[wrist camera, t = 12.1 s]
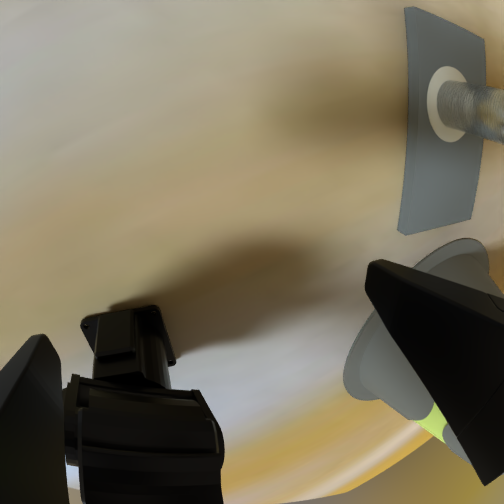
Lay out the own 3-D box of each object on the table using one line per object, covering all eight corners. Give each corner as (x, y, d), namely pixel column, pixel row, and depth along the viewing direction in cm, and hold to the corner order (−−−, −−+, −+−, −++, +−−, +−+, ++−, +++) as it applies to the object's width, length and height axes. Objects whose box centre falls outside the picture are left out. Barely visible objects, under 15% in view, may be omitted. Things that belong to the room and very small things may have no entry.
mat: (463, 214, 29) (471, 219, 28) (397, 230, 26) (406, 236, 25) (475, 38, 19) (485, 39, 18) (404, 8, 16) (415, 6, 15)
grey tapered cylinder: (365, 264, 27) (554, 463, 7) (504, 224, 34) (621, 310, 14) (328, 420, 41) (402, 545, 21) (452, 357, 47) (525, 439, 27)
